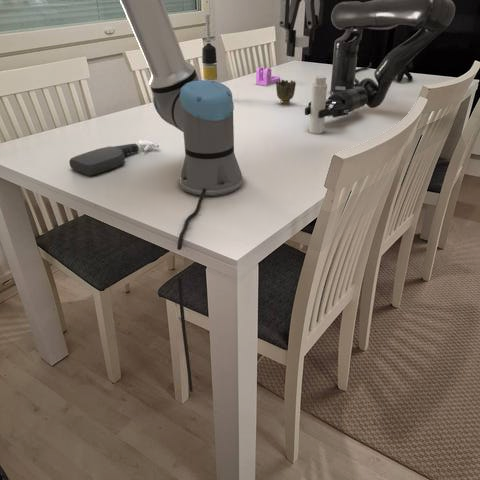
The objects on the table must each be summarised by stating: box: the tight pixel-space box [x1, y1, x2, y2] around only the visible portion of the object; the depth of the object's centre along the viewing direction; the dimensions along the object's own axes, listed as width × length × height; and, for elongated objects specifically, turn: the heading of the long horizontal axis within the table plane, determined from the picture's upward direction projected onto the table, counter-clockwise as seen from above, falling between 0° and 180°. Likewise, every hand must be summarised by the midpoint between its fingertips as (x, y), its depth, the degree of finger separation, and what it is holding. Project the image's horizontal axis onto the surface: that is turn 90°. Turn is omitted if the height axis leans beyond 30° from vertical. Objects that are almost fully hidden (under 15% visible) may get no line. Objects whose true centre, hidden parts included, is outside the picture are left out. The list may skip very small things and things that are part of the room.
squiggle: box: [396, 59, 414, 83], centre depth 198 cm, size 11×10×15 cm
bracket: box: [255, 66, 281, 87], centre depth 199 cm, size 13×6×7 cm, turn 143°
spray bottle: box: [68, 139, 160, 177], centre depth 124 cm, size 3×11×24 cm
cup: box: [275, 79, 297, 106], centre depth 168 cm, size 8×7×8 cm
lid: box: [295, 35, 309, 48], centre depth 120 cm, size 5×5×2 cm
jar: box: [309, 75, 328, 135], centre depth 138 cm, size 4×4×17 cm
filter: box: [201, 14, 218, 82], centre depth 171 cm, size 6×6×30 cm
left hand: (298, 55), depth 122 cm, fingers closed on lid, 5 cm apart
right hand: (312, 113), depth 138 cm, fingers closed on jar, 4 cm apart
